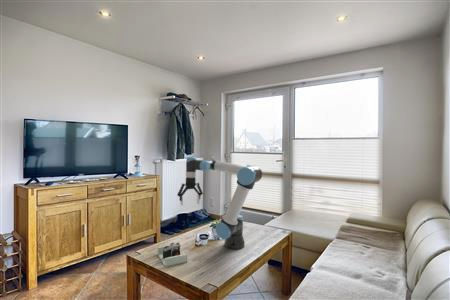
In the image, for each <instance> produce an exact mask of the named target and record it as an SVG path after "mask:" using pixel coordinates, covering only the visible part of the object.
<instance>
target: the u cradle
mask: <svg viewBox="0 0 450 300" xmlns="http://www.w3.org/2000/svg"><path fill="white" fill-rule="evenodd" d="M165 246H166V245H164V246H163V245H162V246H158V247H157V256H158V258H159V259H160V261H161V263H162V264H163V266H164V267H165V268H167V267H168V268H169V267H172V266H177V265H180V264H181V265H182V264H185V263H188V253H183V254H182V253H181V252H180V255H178V256H173V257H168V258H165V259H163V248H164V247H165ZM167 246H170V244H168V245H167Z"/></svg>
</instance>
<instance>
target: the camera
mask: <svg viewBox="0 0 450 300" xmlns="http://www.w3.org/2000/svg"><path fill="white" fill-rule="evenodd" d="M169 245H170V246H168V245H164V246H165V247H164V248H163V259H165V258H168V257H173V256H178V255H180V253H181V243H180V242H176V243H175V242H173V241H172V242H170V244H169Z"/></svg>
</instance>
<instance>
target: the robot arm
mask: <svg viewBox="0 0 450 300" xmlns="http://www.w3.org/2000/svg"><path fill="white" fill-rule="evenodd" d="M185 160H186V163H185V166H186V167H185V168H186V169H185V183H181V187H180V188H179V190H178V192H177V194H176V195H177V197H179V201H180V206H184V197H183V196H184V194H186V192H187V191H188V190H194V191H195V192H196V193H197V194H196V204H198V205H199V204H200V200H201V196H202V195H203V194H204V193H203V190H202V188H201V186H200V183H199V182H196V181H197V178H196V176H197V171H203V172H205V171H206V172H207V171H209V170H213V171H217V172H223V173H227V174H232V175H236V178H237V179H236V184H237V185H236V189H235V191H234V193H233V196H232V198H231V200H230V203H229V205H228V208H227V211H226V213H225V214H223V215H222V216H221V219H220V221H219V222H218V223H216V225H215V234H216V235H217V237H219V238H220V239H223V240H224V247H226V248H227V249H231V250H240V249H243V248H245V239H244V236H243V232H244V231H243V229H244V216H243V215H241V214H240V213H241V211H242V208H243V206H244V204H245V202H246V199H247V196H248V195H249V192H250V191H251V190H253V188H254V186H255V184H256V183H257V182H259V181H260V180H261V179H262V177H263V172H262V169H261V168H260V167H259V166H257V165H249V164H246V165H241V164H235V163H230V162H224V161H220V160H216V159H202V160H201V159H199V160H198V159H197V157H196V156H195V157H194V156H188V157H187V158H186V159H185ZM184 187H185V188H184ZM196 187H197V188H196Z"/></svg>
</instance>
